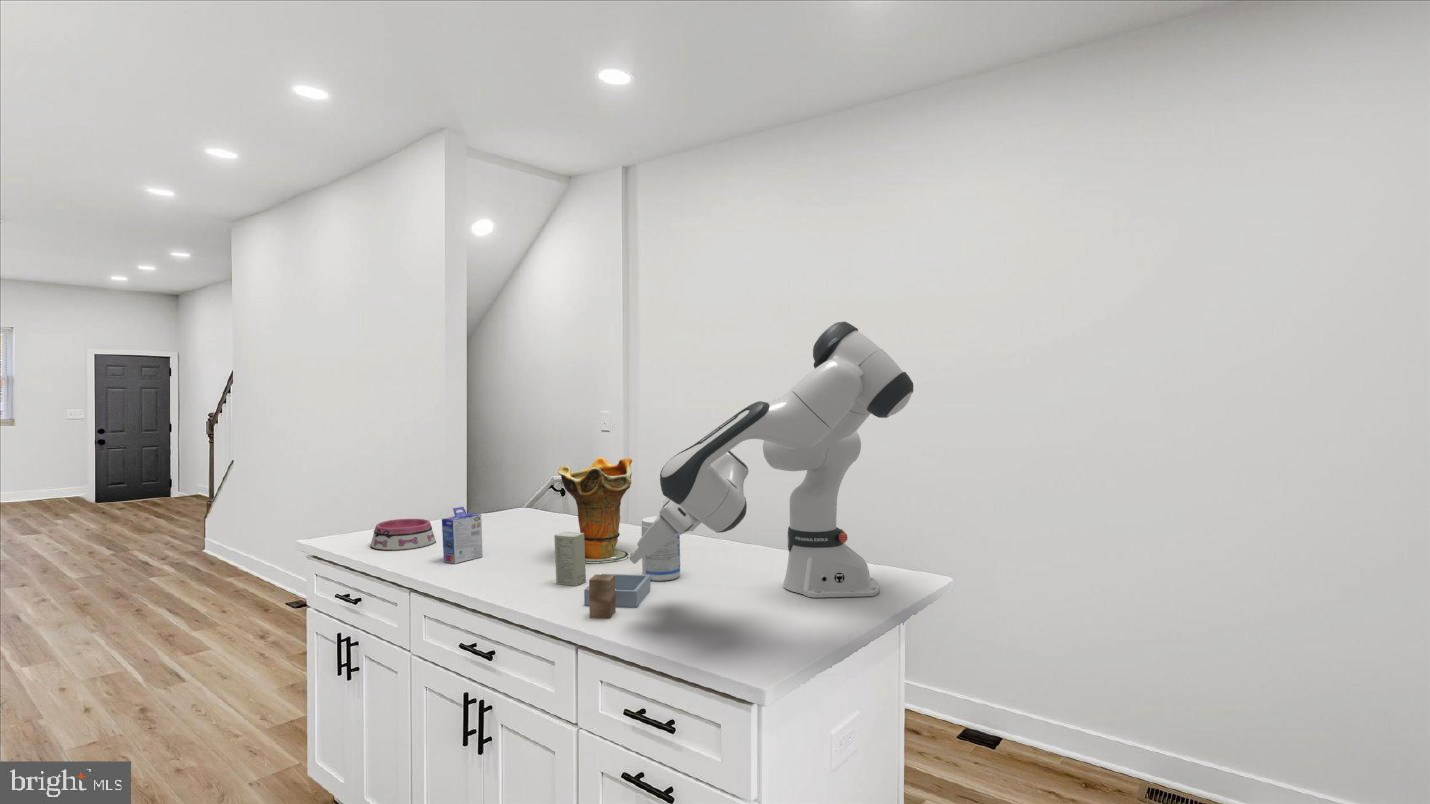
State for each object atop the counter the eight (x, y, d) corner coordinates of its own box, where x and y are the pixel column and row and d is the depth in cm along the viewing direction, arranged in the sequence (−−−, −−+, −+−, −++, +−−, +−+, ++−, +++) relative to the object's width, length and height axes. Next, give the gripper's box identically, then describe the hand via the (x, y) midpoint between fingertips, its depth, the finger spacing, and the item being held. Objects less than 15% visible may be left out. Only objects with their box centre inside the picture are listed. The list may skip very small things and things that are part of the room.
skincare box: (586, 582, 181) (585, 533, 181) (575, 586, 177) (575, 536, 177) (565, 579, 184) (564, 531, 183) (554, 583, 180) (553, 534, 179)
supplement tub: (687, 578, 184) (686, 519, 184) (653, 584, 179) (653, 523, 178) (668, 569, 192) (667, 513, 192) (635, 575, 187) (634, 517, 186)
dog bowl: (449, 541, 230) (448, 519, 230) (401, 554, 213) (400, 530, 213) (406, 536, 238) (405, 515, 238) (356, 548, 221) (356, 525, 221)
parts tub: (650, 589, 174) (650, 575, 174) (636, 607, 160) (636, 591, 160) (602, 588, 176) (601, 573, 175) (584, 605, 162) (584, 589, 162)
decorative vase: (543, 562, 199) (545, 459, 200) (583, 548, 221) (584, 455, 222) (614, 568, 193) (615, 461, 194) (647, 552, 215) (648, 457, 216)
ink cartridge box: (470, 554, 211) (469, 504, 211) (483, 557, 208) (483, 506, 208) (441, 562, 203) (440, 509, 202) (454, 564, 200) (453, 511, 199)
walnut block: (615, 611, 158) (615, 574, 157) (610, 618, 153) (609, 580, 153) (595, 611, 158) (595, 574, 158) (589, 617, 154) (589, 579, 153)
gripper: (683, 491, 164) (640, 533, 166) (662, 508, 144) (614, 555, 146) (702, 511, 163) (660, 553, 165) (684, 531, 143) (636, 579, 145)
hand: (638, 554), depth 155 cm, fingers open, 8 cm apart
